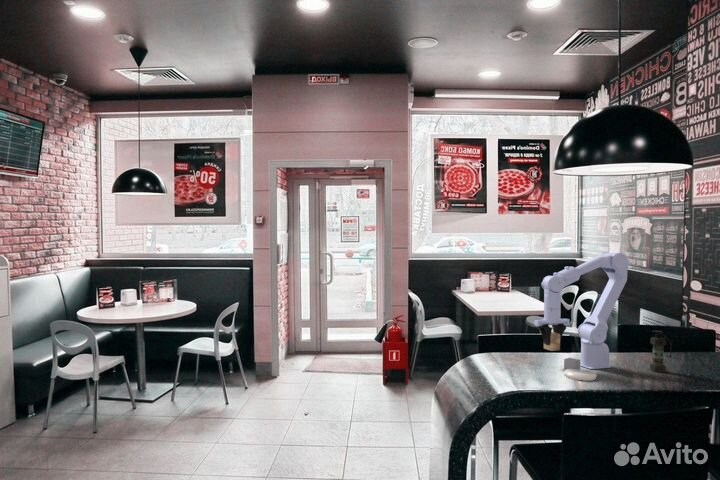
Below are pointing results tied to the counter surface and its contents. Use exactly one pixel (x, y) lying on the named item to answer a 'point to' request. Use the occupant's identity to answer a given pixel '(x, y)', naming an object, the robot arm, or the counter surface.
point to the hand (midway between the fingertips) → (552, 344)
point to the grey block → (571, 363)
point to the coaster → (580, 374)
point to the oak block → (553, 342)
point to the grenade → (658, 351)
